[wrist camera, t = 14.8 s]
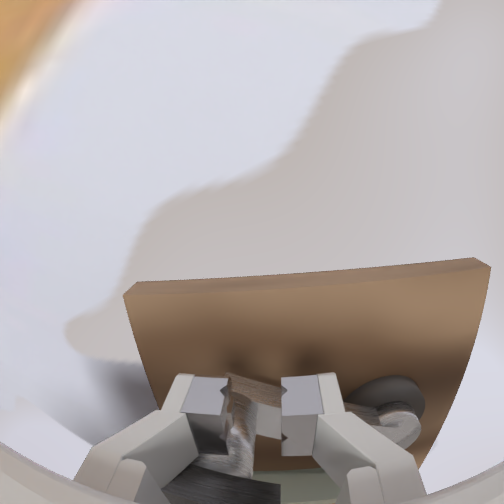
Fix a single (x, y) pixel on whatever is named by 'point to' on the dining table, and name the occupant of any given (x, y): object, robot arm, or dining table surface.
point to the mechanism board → (320, 336)
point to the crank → (269, 424)
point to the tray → (302, 485)
